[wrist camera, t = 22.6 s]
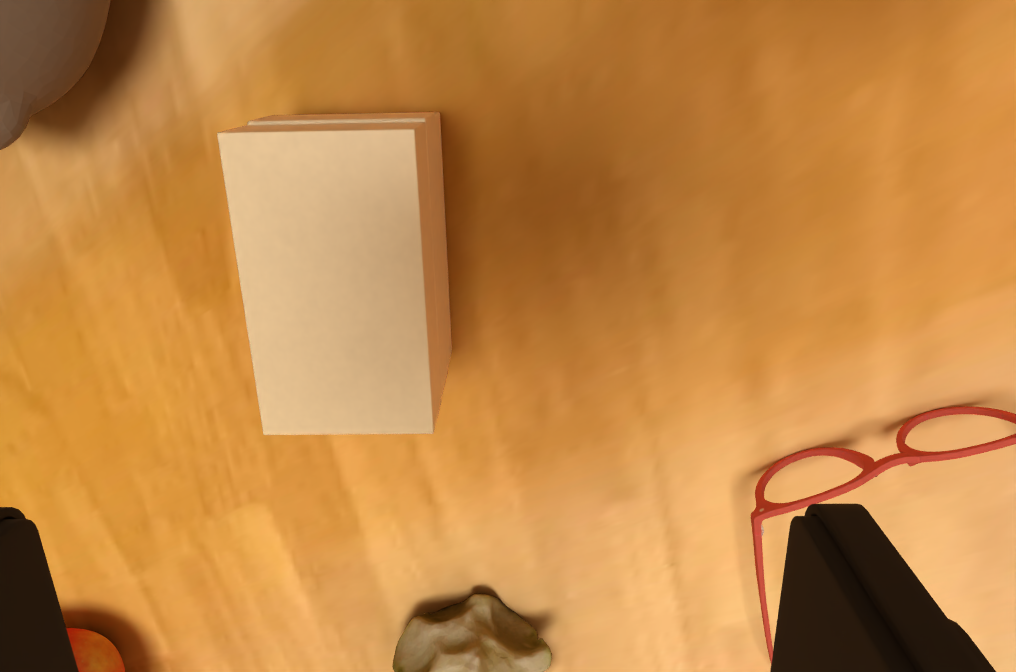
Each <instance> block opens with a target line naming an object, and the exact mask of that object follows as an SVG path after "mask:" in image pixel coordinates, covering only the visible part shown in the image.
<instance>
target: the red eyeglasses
mask: <svg viewBox="0 0 1016 672" xmlns="http://www.w3.org/2000/svg"><path fill="white" fill-rule="evenodd" d="M955 414H976V415H985V416H991V417H996V418H1000V419H1004V420H1007V421H1010V422H1012V423H1015V424H1016V414H1014V413H1010V412H1007V411H1003V410H998V409H992V408H984V407H950V408H942V409H937V410H933V411H929V412H926V413H923V414H920V415H918V416H916V417H914V418H912V419H910V420H909V421H907V422H906V423H905V424H904V425H903V426H902V427H901V428H900V429H899V431H898V434H897V438H896V442H897V447H898V450H899V451H900V453H898V454H893V455H890V456H887V457H885V458H882V459H880V460H878V461H876V462H874V459H873V458H871V457H869V456H867V455H865V454H862V453H860V452H857V451H854V450H849V449H844V448H834V447H827V448H815V449H809V450H805V451H801V452H798V453H795V454H792V455H790V456H788V457H785V458H784V459H782V460H780V461H778V462H777V463H775V464H774V465H773V466H771V467H770V468H769V469H768V470H767V471H766V472H765V473H764V474H763V475H762V477H761V478H760V480H759V481H758V484H757V486H756V490H755V498H756V508H755V510H754V511H753V512H752V513H751V523H752V532H753V543H754V555H755V566H756V575H757V582H758V589H759V596H760V603H761V611H762V618H763V624H764V631H765V637H766V643H767V648H768V652H769V657H770V661H771V664H772V657H773V647H772V641H771V634H770V626H769V619H768V611H767V604H766V595H765V584H764V570H763V553H762V535H763V533H764V529H763V526H762V521H763V520H764V519H766V518H769V517H773V516H777V515H780V514H784V513H788V512H791V511H795V510H798V509H801V508H804V507H807V506H810V505H811V504H816V503H819V502H822V501H825V500H828V499H831V498H834V497H836V496H839V495H841V494H844V493H847V492H849V491H851V490H853V489H855V488H857V487H859V486H861V485H863V484H864V483H866V482H868V481H869V480H871V479H872V478H874V477H877V476H878V475H879V474H880V473H882V472H884V471H885V470H887V469H889V468H891V467H894V466H897V465H900V464H904V463H908V465H909V466H913V465H915V464H918V463H921V462H932V461H942V460H950V459H957V458H962V457H967V456H971V455H975V454H980V453H984V452H988V451H992V450H996V449H999V448H1003V447H1007V446H1010V445H1014V444H1016V434H1014V435H1011V436H1008V437H1005V438H1002V439H999V440H996V441H992V442H988V443H985V444H981V445H976V446H972V447H967V448H962V449H957V450H950V451H942V452H925V451H918V450H915V449H912V448H910V447H908V446H907V445H906V444H905V438H906V436H907V434H908V433H909V432H910V430H911V429H912V428H914V427H915V426H916V425H918V424H919V423H921V422H923V421H926V420H928V419H932V418H936V417H940V416H946V415H955ZM820 455H825V456H835V457H839V458H842V459H845V460H847V461H850V462H852V463H854V464H856V465H857V466H859V467H860V468H862V469H863V471H862V472H861V473H860V474H859V475H858V476H857V477H856V478H854V479H852V480H851V481H849V482H847V483H845V484H843V485H840V486H838V487H835V488H833V489H830V490H828V491H825V492H823V493H820V494H817V495H814V496H811V497H808V498H805V499H801V500H797V501H793V502H789V503H772V502H769V501H766V500H765V499H764V490H765V487H766V485H767V483H768V481H769V480H770V479H771V477H772V476H773V475H774V474H775V473H776V472H778V471H779V470H780V469H782V468H783V467H785V466H787V465H788V464H790V463H792V462H795V461H797V460H800V459H803V458H807V457H811V456H820Z"/></svg>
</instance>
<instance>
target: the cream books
mask: <svg viewBox="0 0 1016 672" xmlns="http://www.w3.org/2000/svg"><path fill="white" fill-rule="evenodd" d="M382 122H425V125H426V143H427V160H428V177H429V195H430V212H431V229H432V246H433V264H434V281H435V298H436V316H437V333H438V350H439V367H440V385H441V397H442V394H443V389H444V385H445V381H446V377H447V373H448V366H449V362H450V358H451V354H452V340H451V320H450V300H449V280H448V261H447V241H446V221H445V201H444V181H443V162H442V142H441V122H440V113H439V112H408V113H357V114H305V115H272V116H267V117H263V118H259V119H255V120H251V121H248V123H247V124H248V125H280V124H331V123H382Z"/></svg>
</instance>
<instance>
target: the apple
mask: <svg viewBox="0 0 1016 672" xmlns="http://www.w3.org/2000/svg"><path fill="white" fill-rule="evenodd" d="M66 629H67V633H68V636H69V640H70V643H71V647H72V650H73V653H74V657H75V660H76V664H77V667H78V671H79V672H125V668H124V664H123V661H122V658H121V656H120V654H119V652H118V650H117V649H116V647H115V646H114V645H113V644H112V643H111V642H110V641H109V640H108V639H107V638H105V637H104V636H102V635H100V634H98V633H96V632H93V631H90V630H85V629H78V628H66Z"/></svg>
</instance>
